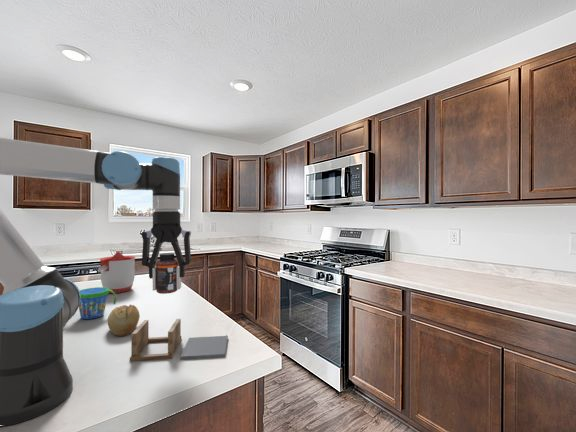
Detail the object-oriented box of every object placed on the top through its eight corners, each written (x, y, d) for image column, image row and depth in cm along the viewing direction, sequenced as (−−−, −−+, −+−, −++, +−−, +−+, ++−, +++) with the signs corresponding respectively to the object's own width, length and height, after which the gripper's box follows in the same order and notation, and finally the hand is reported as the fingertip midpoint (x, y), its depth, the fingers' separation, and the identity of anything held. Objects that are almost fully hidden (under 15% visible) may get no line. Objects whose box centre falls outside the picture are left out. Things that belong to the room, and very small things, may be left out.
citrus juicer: (89, 293, 141) (89, 253, 141) (121, 285, 157) (121, 249, 157) (110, 297, 135) (110, 255, 135) (142, 288, 151) (142, 251, 151)
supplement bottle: (177, 293, 83) (176, 254, 83) (154, 295, 81) (154, 255, 81) (178, 288, 89) (178, 251, 88) (158, 289, 87) (157, 252, 87)
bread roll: (137, 319, 108) (137, 298, 108) (141, 333, 95) (141, 310, 95) (107, 325, 103) (107, 302, 103) (107, 340, 90) (107, 315, 90)
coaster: (224, 356, 81) (224, 353, 81) (180, 359, 79) (180, 356, 79) (227, 338, 92) (227, 335, 92) (189, 340, 91) (189, 337, 91)
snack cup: (115, 309, 119) (115, 284, 119) (116, 316, 111) (116, 290, 110) (68, 316, 111) (68, 290, 111) (65, 325, 102) (65, 297, 102)
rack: (171, 358, 79) (171, 333, 79) (129, 361, 78) (129, 335, 78) (181, 339, 92) (181, 317, 91) (145, 340, 90) (145, 318, 90)
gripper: (201, 210, 90) (202, 284, 90) (137, 210, 87) (137, 286, 87) (197, 210, 82) (198, 290, 83) (127, 210, 79) (128, 293, 80)
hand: (167, 288), depth 85 cm, fingers closed on supplement bottle, 6 cm apart
